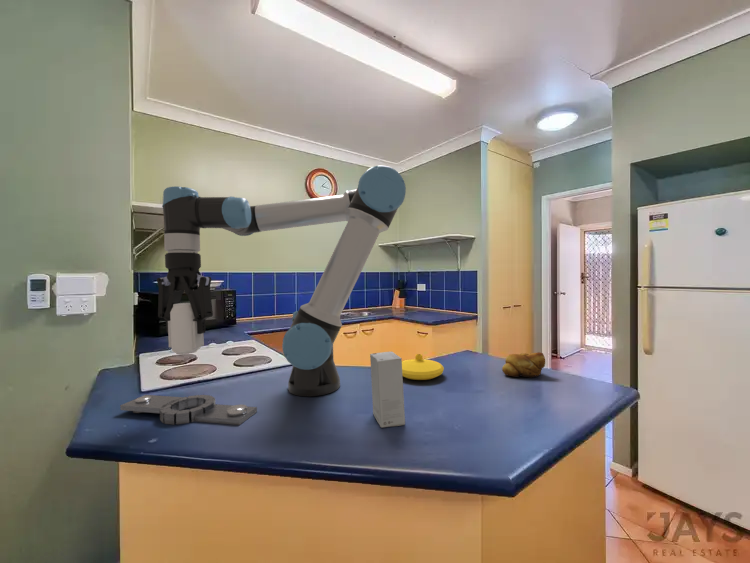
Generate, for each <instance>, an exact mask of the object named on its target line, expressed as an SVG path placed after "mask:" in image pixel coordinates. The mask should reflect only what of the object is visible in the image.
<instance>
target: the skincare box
mask: <svg viewBox="0 0 750 563" xmlns="http://www.w3.org/2000/svg"><path fill="white" fill-rule="evenodd" d="M369 355H370V357H369V358H370V374H371V375H370V377H371V378H370V379H371V397H372V398H371V399H372V414H373V416H374V418H375V419H376V421H377V423H378V425H379V427H380V428H389V427H398V426H399V427H400V426H405V424H406V416H405V415H406V413H405V397H404V394H405V393H404V383H403V382H404V380H403V378H404V377H403V376H402V361H403V359H402V357H401V356H399V355H397V354H396V353H395V352H393V351H383V352H375V353H370V354H369Z"/></svg>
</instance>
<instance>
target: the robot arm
mask: <svg viewBox="0 0 750 563" xmlns="http://www.w3.org/2000/svg"><path fill="white" fill-rule="evenodd" d="M360 176H361V177H360V178H359V181H358V185H357V188H356V189H355V188H354V189H351V190H346V191H345V192H344V193H343V194H339V195H330V196H323V197H314V198H305V199H298V200H291V201H283V202H282V201H281V202H274V203H273V202H272V203H266V204H265V203H263V204H257V205H250V203H249V201H248V199H247V198H245V197H237V196H236V197H235V196H221V197H220V196H217V197H215V196H212V197H211V196H204V197H201V196H200V195H199V192H198V191H197V190H196V189H194V188H191V187H187V186H183V187H182V186H168V187H166V188H165V189H163V194H162V206H161V208H162V211H163V212H162V214H163V228H164V230H163V235H164V236H163V237H164V238H163V239H164V245H163V246H164V251H165V252H166V253H165V254H164V264H165V268H166V269H167V271H168V272H167V274H166V276H164V277H157V278H156V283H157V286H158V298H157V299H158V300H157V302H158V303H157V304H158V306H157V317H158V318H162V319H164V320H165V327H166V329H165V330H166V333H167V334H168V336H167V338H168V348H172V345H171V320H170V311H171V310H172V308H173V304H178V303H181V299H182V297H183V296H182V295H183V294H184V293H185V295H187V297H188V298H187V299H188V302H189V303H190V305H191V308H192V311H193V314H194V317H195V319H193V321H192V333H193V348H198V347H204V346H205V340H204V339H205V338H204V336H205V335H204V334H205V333H206V320H207V319H209V318H212V317H213V315H214V312H213V302H212V292H211V283H212V277H211V276H204V275H202V274H201V272H200V268H202V260H201V256H202V255H201V254H200V253H199V252H200V251H201V237H200V236H201V233H200V230H201V229H224V230H225V231H228V232H231V233H233V234H235V235H237V236H241V237H246V236H247V237H248V236H251V235H253V234H256V233H261V232H268V231H276V230H283V229H290V228H291V229H292V228H301V227H307V226H316V225H322V224H331V223H332V224H333V223H339V222H340V223H341V222H347V223H346V225H345V227H344V229H343V231H342V233H341V235H340V238H339V239H338V241H337V244H336V246H335V248H334V250H333V252H332V254H331V255H330V258H329V261H328V262H327V265H326V267H325V268H324V271H323V272H322V275H321V277H320V279H319V281H318V284H316V288H315V289H314V292H313V293H312V296H311V298H310V300H309V302H308V303H304V304H302V305H300V307H299V309H298V310H296V311H294V312H293V313H292V318H291V322H292V323H291V325H290V327H289V328H288V329H287V331H286V332H285V334H284V335H283V338H282V344H281V345H282V346H281V347H282V353H283V355H284V358H285V360H286V361H287V362H288V363H289V364H291V366H292V368H291V372H290V375H289V378H288V383H287V385H288V388H287V389H288V392H289V393H290V394H292V395H294V396H299V397H317V396H318V397H319V396H324V395H328V394H330V393H334V392H335V391H338V389H339V388H340V386H341V378H340V375H339V372H338V369H337V366H336V364H335V363H336V362H335V361H334V360H335V359H334V344H335V343H334V342H335V341H336V338H337V336H338V335H339V332H340V330H341V328H342V327H343V324H342V320H341V315H342V313H343V311H344V308H345V306H346V304H347V302H348V301H349V298H350V296H351V293H352V291H353V289H354V287H355V285H356V283H357V281H358V279H359V278H360V275H361V272H362V270H363V268H364V267H365V264H366V263H367V261H368V259H369V256H370V254H371V251H372V250H373V248H374V245H375V243H376V241H377V239H378V237H379V236H380V234H381V233H383V232H386V231H388V230H389V228H390V226H391V224H392V222H393V219H394V217H395V215H396V213H397V211H398V209H399V208H400V206H401V205H403V203H404V201H405V198H406V193H407V188H406V183H405V180H404V178H403V176H402V175H401V174H400V173H399V172H398V171H397V170H396V169H394V168H393V167H391V166H387V165H381V164H380V165H374V166H371V167H370V168H368V169H366V171H365V172H364V173H363V174H362V175H360Z"/></svg>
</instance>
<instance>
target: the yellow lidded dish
mask: <svg viewBox="0 0 750 563" xmlns="http://www.w3.org/2000/svg"><path fill="white" fill-rule="evenodd" d="M444 370H445V368H444V366H443V365H442V363H440V362H438V361H435V360H432V359H425V358H424V359H423V354H421V353H416V354H415V357H414V358H413V359H412V358H411V359H406V360H405V359H404V360H402V376H403V378H406V379H409V380H414V381H415V380H416V381H427V380H431V379H435V378H437V377H439V376H441V375H442V374H443V372H444Z"/></svg>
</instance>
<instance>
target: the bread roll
mask: <svg viewBox="0 0 750 563" xmlns="http://www.w3.org/2000/svg"><path fill="white" fill-rule="evenodd" d="M545 367H546V358H545V354H544V353H543V352H540V351H538V352H532V353H527V352H526V353H523V352H522V353H511V354H508V355H507V356H506V358H505V363H504V364H503V365H502V368H501V370H502V373H503V374H504V375H506V376H510V377H513V378H515V377H517V378H518V377H524V378H536V377H539V376H540V375H541V373H542V370H543V368H545Z"/></svg>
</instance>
